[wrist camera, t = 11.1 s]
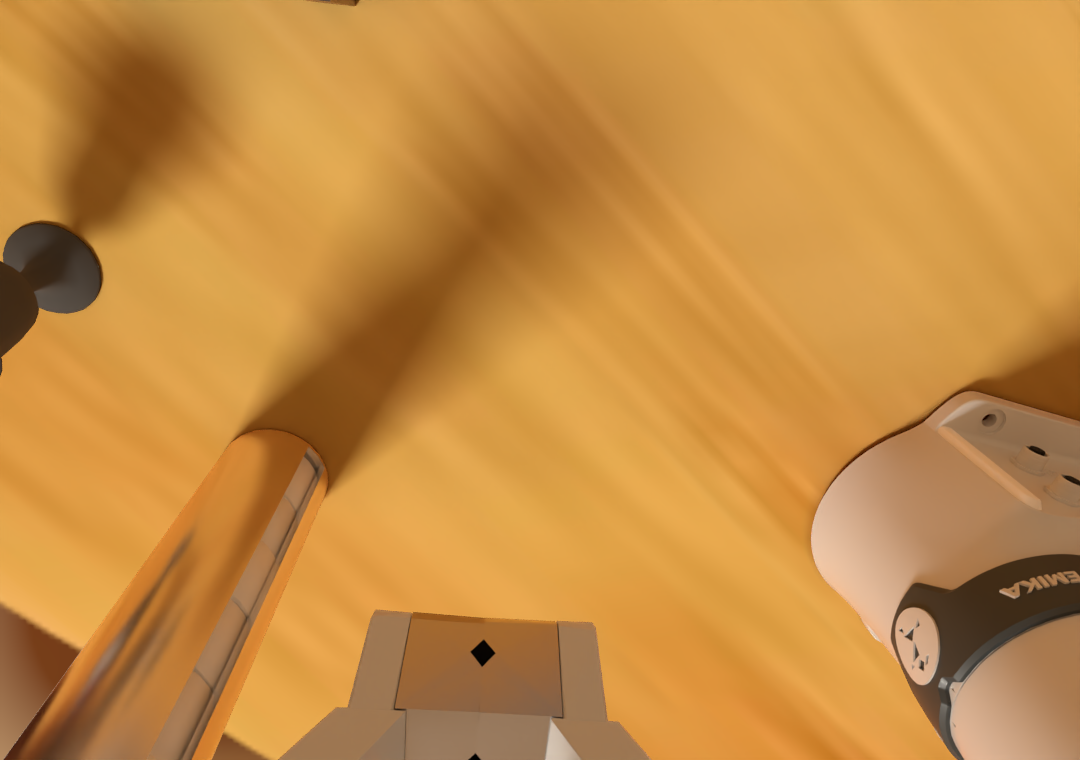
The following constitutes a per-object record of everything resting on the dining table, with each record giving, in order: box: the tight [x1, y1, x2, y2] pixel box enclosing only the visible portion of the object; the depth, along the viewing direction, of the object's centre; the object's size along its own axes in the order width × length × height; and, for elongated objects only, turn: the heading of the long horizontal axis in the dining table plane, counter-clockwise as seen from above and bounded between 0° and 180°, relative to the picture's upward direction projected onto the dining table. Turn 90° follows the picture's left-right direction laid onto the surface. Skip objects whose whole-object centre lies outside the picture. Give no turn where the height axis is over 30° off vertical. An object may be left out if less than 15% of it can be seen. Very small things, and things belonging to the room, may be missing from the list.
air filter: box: [3, 429, 328, 760], centre depth 34 cm, size 6×6×25 cm
